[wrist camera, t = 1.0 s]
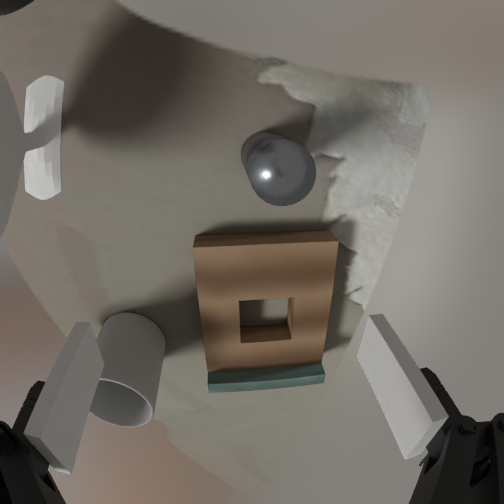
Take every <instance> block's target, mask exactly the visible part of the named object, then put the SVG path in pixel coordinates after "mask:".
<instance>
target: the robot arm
mask: <svg viewBox="0 0 504 504" xmlns="http://www.w3.org/2000/svg"><path fill="white" fill-rule="evenodd" d="M31 1H33V0H0V15H6V14H9V13H12V12H14V11H16V10H18V9H20V8H22V7H24V6H25V5H27V4H28V3H30V2H31ZM357 358H358V360H359V362H360V364H361V366H362V368H363V370H364V372H365V374H366V377H367V379H368V381H369V383H370V385H371V387H372V389H373V391H374V393H375V395H376V397H377V400H378V402H379V404H380V406H381V408H382V410H383V412H384V414H385V417H386V419H387V421H388V423H389V425H390V428H391V429H392V432H393V434H394V436H395V439H396V441H397V443H398V445H399V447H400V450H401V452H402V454H403V457H404V459H405V460H406V459H409V458H411V457H415V456H418V455H420V454H421V453H422V451H423V450H424V449H425V448H427V450H428V452H429V453H428V454H427V455H426V456H425V458H424V459H423V460H422V461H421V462H420V464H419V466H421V465H422V464H423V463H424V465H423V468H422V470H421V473H420V476H419V479H418V482H417V484H416V487H415V490H414V492H413V495H412V497H411V500H410V502H409V504H504V413H499V414H497V415H496V416H494V418H493V419H492V420H491V421H486V422H476V421H475V420H474V419H473V418H471V417H469V416H463V415H461V413H460V412H459V410H458V408H457V407H456V405H455V404H454V402H453V400H452V399H451V397H450V396H449V394H448V393H447V391H445V388H444V387H443V385H442V384H441V382H440V380H439V379H438V377H437V376H436V374H434V373H433V372H432V371H431V370H429V369H428V368H422V369H419V368H418V366H417V365H416V363H415V361H414V360H413V358H412V357H411V355H410V354H409V352H408V351H407V349H406V348H405V346H404V345H403V343H402V342H401V340H400V339H399V337H398V336H397V334H396V333H395V331H394V330H393V329H392V327H391V326H390V324H389V323H388V321H387V320H386V318H385V317H384V315H383V314H377V315H369V316H368V320H367V324H366V328H365V332H364V335H363V338H362V342H361V346H360V349H359V352H358V355H357ZM104 365H105V364H104V362H103V359H102V356H101V353H100V350H99V347H98V345H97V342H96V339H95V335H94V332H93V329H92V326H91V323H90V322H76V324H75V326H74V327H73V329H72V331H71V333H70V335H69V337H68V339H67V340H66V342H65V344H64V346H63V348H62V350H61V352H60V354H59V356H58V358H57V360H56V362H55V364H54V366H53V368H52V370H51V372H50V374H49V377H48V378H47V380H46V382H43V381H37V382H36V383H35V384H34V385H33V387H31V388H30V390H29V393H28V395H27V397H26V399H25V401H24V403H23V407H22V408H21V410H20V412H19V414H18V417H17V419H16V421H15V423H14V426H13V428H12V429H11V428H10V427H9V425H8V424H6V423H5V422H3V421H0V504H66V503H65V501H64V499H63V497H62V496H61V494H60V492H59V490H58V488H57V486H56V484H55V482H54V480H53V478H52V476H51V474H50V473H49V471H48V467H49V464H50V465H51V466H52V467H53V468H54V469H55V470H56V471H59V472H64V473H68V474H72V470H73V467H74V463H75V459H76V455H77V451H78V447H79V444H80V440H81V437H82V433H83V430H84V426H85V423H86V420H87V416H88V413H89V410H90V407H91V404H92V400H93V397H94V394H95V391H96V388H97V385H98V382H99V379H100V376H101V373H102V371H103V368H104Z"/></svg>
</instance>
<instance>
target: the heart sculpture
mask: <svg viewBox="0 0 504 504" xmlns="http://www.w3.org/2000/svg"><path fill="white" fill-rule="evenodd" d="M63 90H64V82H63V81H62V80H60V79H58V78H56V77H53V76H48V75H45V76H43V77H40V78H38V79H37V80H35V81H34V82H33V83H31V84H30V85H29V86H28V87H27V90H26V102H25V119H24V129H23V126H22V123H21V119H20V116H19V112H18V109H17V105H16V102H15V100H14V97H13V95H12V92H11V89H10V87H9V84H8V81H7V79H6V77H5V76H4V75H3V73H2V72H1V71H0V238H1V236H2V234H3V231H4V229H5V227H6V225H7V223H8V220H9V216H10V212H11V208H12V204H13V201H14V197H15V194H16V190H17V186H18V181H19V177H20V173H21V169H22V165H23V161H24V173H25V191H26V192H28V193H29V194H31V195H32V196H34V197H36V198H38V199H41V200H46V199H49V198H51V197H53V196H55V195H56V194H58V193H59V192H61V175H60V141H61V116H62V102H63Z"/></svg>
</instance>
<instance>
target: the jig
mask: <svg viewBox="0 0 504 504" xmlns="http://www.w3.org/2000/svg"><path fill="white" fill-rule="evenodd" d="M338 243H339V241H338V240H337V239H336V237H335V236H334V235H333V234H332V233H331V232H330V230H320V231H292V232H266V233H242V234H220V235H199V236H195V240H194V245H193V254H194V264H195V274H196V283H197V292H198V301H199V310H200V318H201V326H202V333H203V341H204V348H205V356H206V363H207V370H208V389H209V393H215V392H237V391H252V390H265V389H276V388H286V387H295V386H303V385H311V384H319V383H324V379H325V372H324V369H323V366H322V363H321V362H322V357H323V351H324V345H325V339H326V333H327V327H328V321H329V314H330V307H331V300H332V293H333V285H334V278H335V269H336V261H337V252H338ZM276 298H289V300H288V316H287V324H278V325H265V326H249V327H240V317H239V301H243V300H260V299H276Z"/></svg>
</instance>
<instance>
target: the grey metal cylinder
mask: <svg viewBox="0 0 504 504" xmlns="http://www.w3.org/2000/svg"><path fill="white" fill-rule="evenodd" d="M241 160H242V163H243V165H244V168H245V170H246V173H247V175H248V178H249V180H250V182H251V185H252V187H253V189H254V191H255V192H256V194H257V195H258V196H259V197H260V198H261V199H262V200H264V201H265V202H267V203H270V204H272V205H277V206H288V205H292V204H295V203H297V202H299V201H300V200H302V199H303V198H304V197H306V196H307V194H308V193H309V192H310V191H311V189H312V187H313V185H314V182H315V178H316V167H315V163H314V160H313V158H312V156H311V155H310V153H309V152H308V151H307V150H306V149H305V148H304V147H302V146H301V145H299V144H297V143H295V142H293V141H290V140H288V139H285V138H283V137H281V136H278V135H276V134H273V133H270V132H258V133H255V134H253V135H251V136H250V137H249V138H247V140H246V141H245V142H244V144H243V146H242V149H241Z"/></svg>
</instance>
